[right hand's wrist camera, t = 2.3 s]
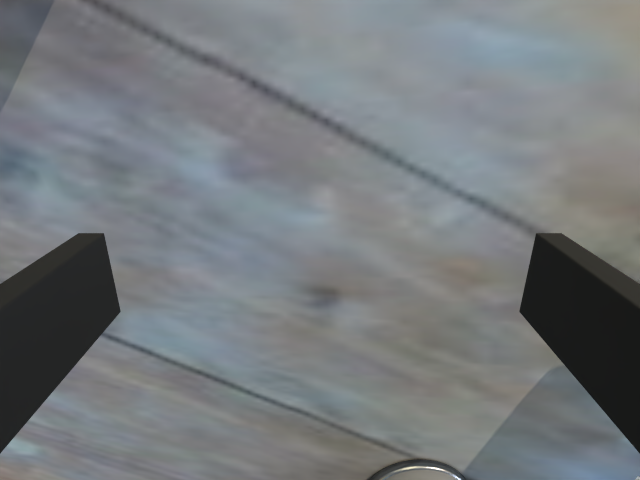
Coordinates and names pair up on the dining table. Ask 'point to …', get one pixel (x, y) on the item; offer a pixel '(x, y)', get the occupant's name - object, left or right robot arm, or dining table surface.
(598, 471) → the dining table surface
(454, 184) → the dining table surface
